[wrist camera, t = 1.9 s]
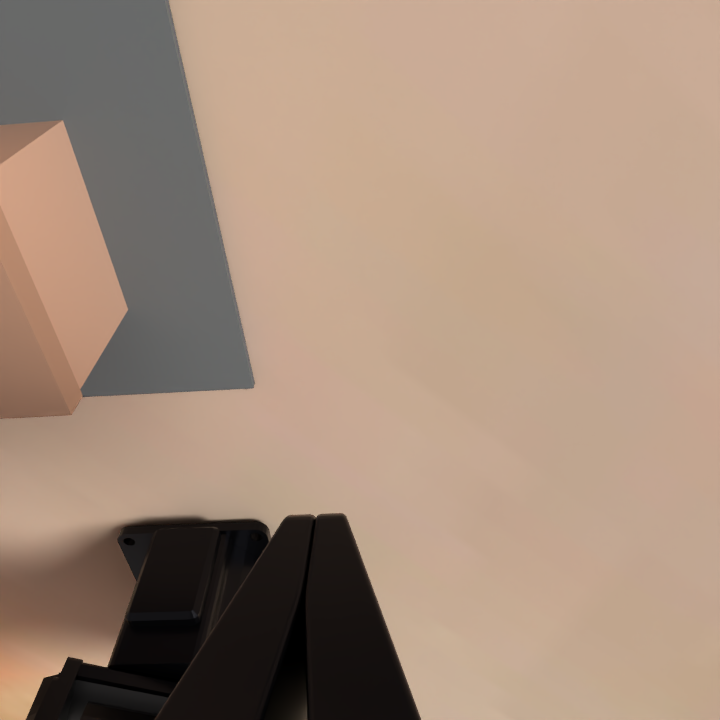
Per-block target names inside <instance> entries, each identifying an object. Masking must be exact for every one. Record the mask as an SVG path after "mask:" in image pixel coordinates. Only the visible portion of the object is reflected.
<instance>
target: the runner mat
mask: <svg viewBox="0 0 720 720" xmlns="http://www.w3.org/2000/svg"><path fill="white" fill-rule="evenodd" d="M58 120H63V122H64V125H65V128H66V131H67V134H68V137H69V140H70V142H71V145H72V148H73V151H74V154H75V157H76V160H77V163H78V166H79V169H80V171H81V174H82V177H83V180H84V183H85V186H86V189H87V192H88V195H89V198H90V200H91V203H92V206H93V209H94V212H95V215H96V218H97V221H98V224H99V227H100V229H101V232H102V235H103V238H104V241H105V244H106V247H107V250H108V253H109V256H110V258H111V261H112V264H113V267H114V270H115V273H116V276H117V279H118V282H119V285H120V287H121V290H122V293H123V296H124V299H125V302H126V305H127V308H128V311H127V313H126V314H125V316H124V318H123V319H122V321H121V322H120V324H119V326H118V327H117V329H116V331H115V332H114V334H113V336H112V337H111V339H110V341H109V342H108V344H107V346H106V347H105V349H104V351H103V352H102V354H101V356H100V357H99V359H98V361H97V362H96V364H95V366H94V367H93V369H92V371H91V372H90V374H89V376H88V377H87V379H86V381H85V382H84V384H83V386H82V387H81V389H80V390H81V393H82V395H83V396H82V397H92V396H112V395H132V394H151V393H171V392H190V391H210V390H230V389H249V388H254V384H255V382H254V378H253V373H252V369H251V364H250V360H249V355H248V351H247V347H246V342H245V338H244V333H243V329H242V324H241V320H240V316H239V311H238V307H237V302H236V298H235V293H234V289H233V285H232V280H231V276H230V271H229V267H228V262H227V258H226V254H225V249H224V245H223V240H222V236H221V231H220V227H219V223H218V218H217V214H216V209H215V205H214V201H213V196H212V192H211V187H210V183H209V178H208V174H207V170H206V165H205V161H204V156H203V152H202V147H201V143H200V139H199V134H198V130H197V125H196V121H195V116H194V112H193V108H192V103H191V99H190V94H189V90H188V85H187V81H186V77H185V72H184V68H183V63H182V59H181V54H180V50H179V46H178V41H177V37H176V32H175V28H174V23H173V19H172V15H171V10H170V6H169V1H168V0H0V125H8V124H21V123H33V122H46V121H58Z"/></svg>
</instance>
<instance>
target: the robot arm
mask: <svg viewBox="0 0 720 720" xmlns="http://www.w3.org/2000/svg"><path fill="white" fill-rule="evenodd" d="M118 543H119V545H120V547H121V549H122V551H123V554H124V556H125V558H126V560H127V562H128V564H129V566H130V568H131V570H132V573H133V575H134V577H135V579H136V581H137V583H136V585H135V588H134V591H133V594H132V597H131V600H130V603H129V605H128V608H127V611H126V615H125V618H124V621H123V624H122V627H121V629H120V632H119V635H118V638H117V641H116V644H115V647H114V649H113V652H112V655H111V658H110V661H109V664H108V667H102V666H97V665H92V664H87V663H83V660H81V659H76V658H71V657H68V658H67V660H66V662H65V665H64V667H63V669H62V671H61V673H60V672H59V674H58V675H54V676H50V677H46V678H44V679H43V681H42V684H41V686H40V688H39V691H38V693H37V695H36V698H35V700H34V702H33V705H32V707H31V709H30V712H29V714H28V716H27V718H26V720H421V718H420V715H419V712H418V710H417V707H416V704H415V701H414V699H413V696H412V693H411V691H410V688H409V685H408V682H407V680H406V677H405V674H404V672H403V669H402V666H401V663H400V661H399V658H398V655H397V653H396V650H395V647H394V644H393V642H392V639H391V636H390V634H389V631H388V628H387V625H386V623H385V620H384V617H383V615H382V612H381V609H380V606H379V604H378V601H377V598H376V596H375V593H374V590H373V587H372V585H371V582H370V579H369V577H368V574H367V571H366V568H365V566H364V563H363V560H362V558H361V555H360V552H359V549H358V547H357V544H356V541H355V539H354V536H353V533H352V530H351V528H350V525H349V522H348V520H347V517H346V516H345V515H344V514H343V513H332V514H320V515H318V516H317V517H315V516H314V515H311V514H306V515H289V516H287V517H286V518H285V519H284V520H283V521H282V523H281V524H280V526H279V527H278V529H277V530H276V532H275V534H274V535H273V537H272V538H271V536H270V532H269V528H268V527H267V526H266V525H265V524H263V523H260V522H240V523H213V524H186V525H160V526H133V527H125V528H123V529H122V530H121V532H120V534H119V537H118Z"/></svg>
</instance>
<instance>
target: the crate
mask: <svg viewBox="0 0 720 720" xmlns="http://www.w3.org/2000/svg"><path fill="white" fill-rule="evenodd" d="M127 311H128V308H127V305H126V302H125V299H124V296H123V293H122V290H121V287H120V285H119V282H118V279H117V276H116V273H115V270H114V267H113V264H112V261H111V258H110V256H109V253H108V250H107V247H106V244H105V241H104V238H103V235H102V232H101V229H100V227H99V224H98V221H97V218H96V215H95V212H94V209H93V206H92V203H91V200H90V198H89V195H88V192H87V189H86V186H85V183H84V180H83V177H82V174H81V171H80V169H79V166H78V163H77V160H76V157H75V154H74V151H73V148H72V145H71V142H70V140H69V137H68V134H67V131H66V128H65V125H64V122H63V120H58V121H46V122H33V123H21V124H8V125H0V419H2V418H22V417H43V416H63V415H72V413H73V412H74V410H75V408H76V406H77V405H78V403H79V401H80V400H81V398H82V396H83V395H82V393H81V390H80V389H81V387H82V386H83V384H84V382H85V381H86V379H87V377H88V376H89V374H90V372H91V371H92V369H93V367H94V366H95V364H96V362H97V361H98V359H99V357H100V356H101V354H102V352H103V351H104V349H105V347H106V346H107V344H108V342H109V341H110V339H111V337H112V336H113V334H114V332H115V331H116V329H117V327H118V326H119V324H120V322H121V321H122V319H123V318H124V316H125V314H126V313H127Z"/></svg>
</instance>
